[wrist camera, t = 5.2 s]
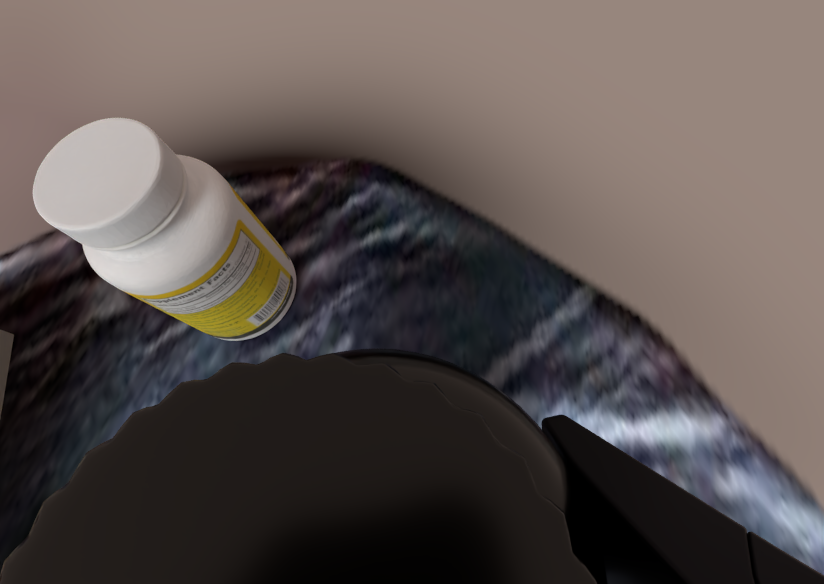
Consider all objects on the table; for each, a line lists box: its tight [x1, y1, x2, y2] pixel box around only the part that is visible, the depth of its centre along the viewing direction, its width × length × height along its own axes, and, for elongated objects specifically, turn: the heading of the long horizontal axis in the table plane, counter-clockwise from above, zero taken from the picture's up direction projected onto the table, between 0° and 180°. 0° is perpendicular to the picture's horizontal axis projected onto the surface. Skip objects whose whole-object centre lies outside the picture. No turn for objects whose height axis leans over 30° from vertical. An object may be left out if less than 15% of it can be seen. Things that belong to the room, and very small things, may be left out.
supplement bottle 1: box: [33, 118, 296, 341], centre depth 18 cm, size 5×5×10 cm
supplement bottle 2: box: [0, 349, 608, 584], centre depth 8 cm, size 7×7×12 cm
